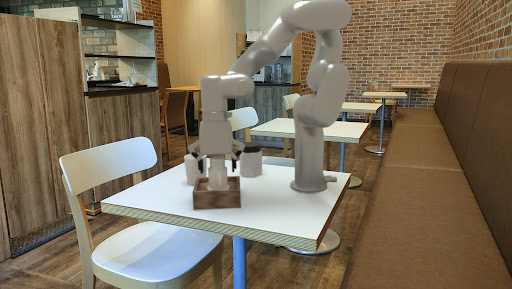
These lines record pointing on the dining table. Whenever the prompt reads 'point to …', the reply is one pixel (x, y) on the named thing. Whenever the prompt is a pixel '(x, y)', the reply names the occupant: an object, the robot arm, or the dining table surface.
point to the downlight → (217, 174)
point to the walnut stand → (216, 195)
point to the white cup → (194, 168)
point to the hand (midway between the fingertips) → (217, 171)
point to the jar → (251, 160)
